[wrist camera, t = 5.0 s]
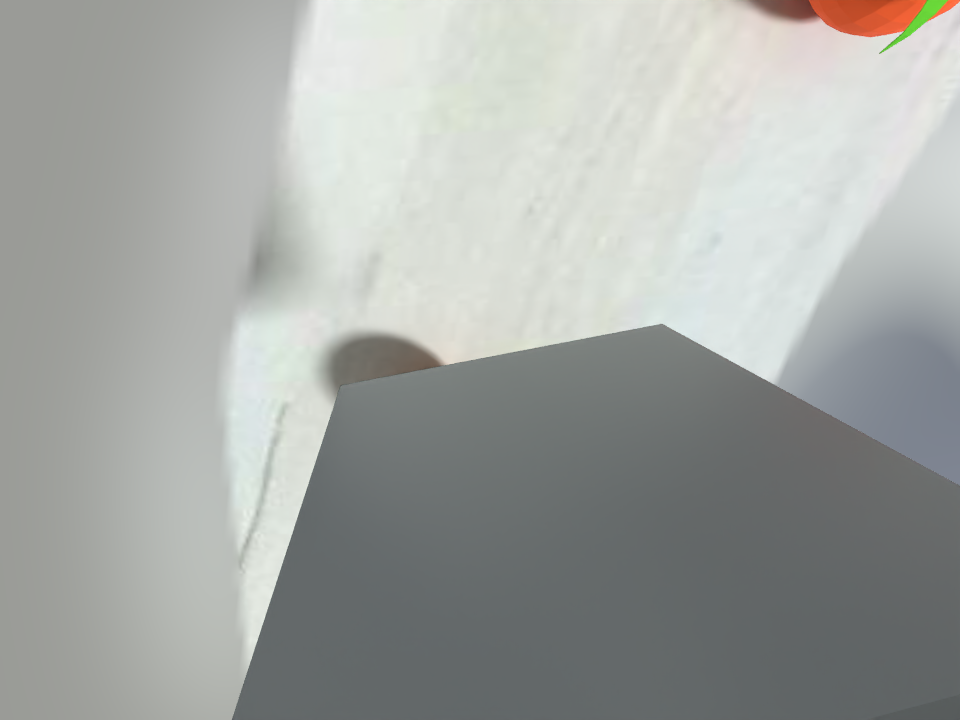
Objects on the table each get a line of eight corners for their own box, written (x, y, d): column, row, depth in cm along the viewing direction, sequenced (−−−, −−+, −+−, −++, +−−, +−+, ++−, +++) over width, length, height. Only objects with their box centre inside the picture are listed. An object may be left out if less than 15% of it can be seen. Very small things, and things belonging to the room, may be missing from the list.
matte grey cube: (668, 573, 15) (1002, 1068, 6) (407, 634, 14) (410, 1265, 6) (662, 324, 12) (1217, 625, 4) (340, 385, 11) (172, 903, 3)
